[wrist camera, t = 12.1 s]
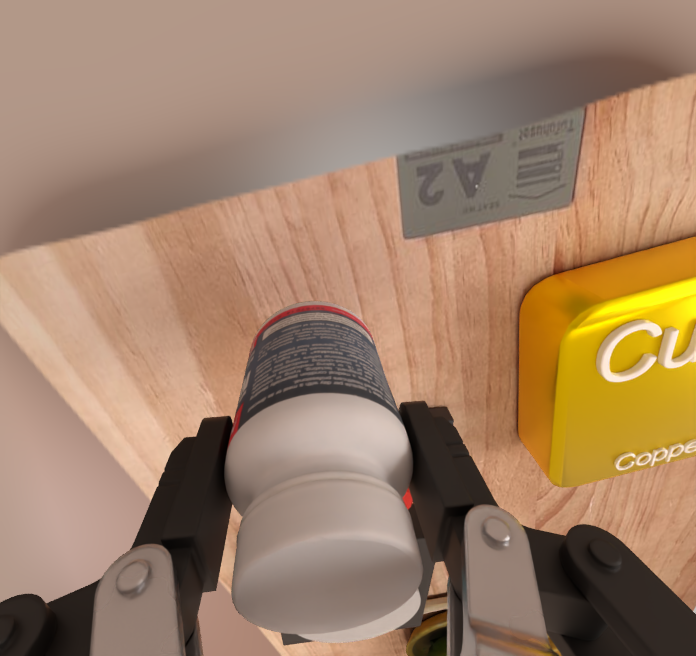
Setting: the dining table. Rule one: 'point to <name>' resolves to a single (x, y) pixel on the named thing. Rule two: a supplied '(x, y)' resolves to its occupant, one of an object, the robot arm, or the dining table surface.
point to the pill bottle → (319, 478)
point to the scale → (398, 619)
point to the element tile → (610, 366)
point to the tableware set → (436, 632)
